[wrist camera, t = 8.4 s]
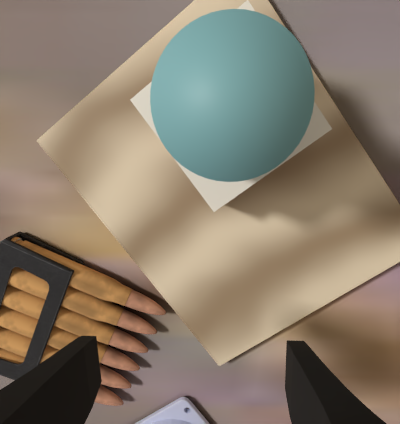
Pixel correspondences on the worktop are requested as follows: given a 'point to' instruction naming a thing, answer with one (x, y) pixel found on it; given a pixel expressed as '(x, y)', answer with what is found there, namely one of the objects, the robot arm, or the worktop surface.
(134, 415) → the worktop surface
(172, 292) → the birch board
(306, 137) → the tower top
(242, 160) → the teal piece
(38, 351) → the ammunition clip
